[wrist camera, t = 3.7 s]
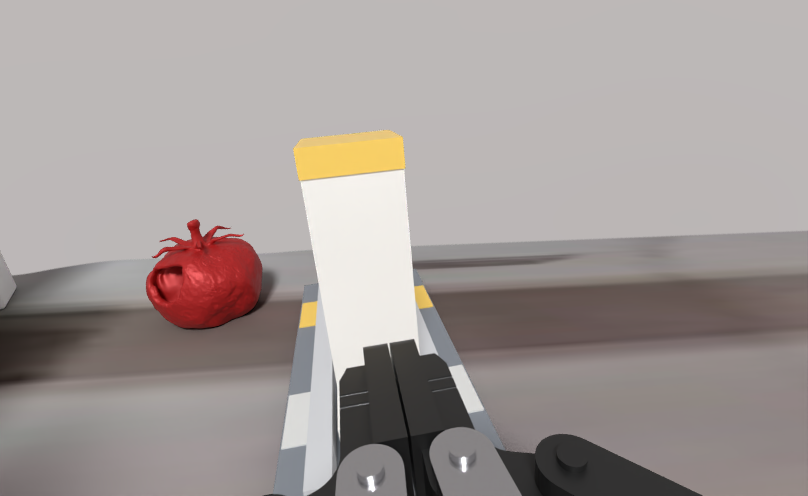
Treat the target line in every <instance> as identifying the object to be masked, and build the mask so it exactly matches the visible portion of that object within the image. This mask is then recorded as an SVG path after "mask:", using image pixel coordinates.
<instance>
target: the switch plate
mask: <svg viewBox="0 0 808 496" xmlns="http://www.w3.org/2000/svg"><path fill="white" fill-rule="evenodd" d="M413 280H414V292H415V303H416V315H417V327H418V338H419V350H420V356H421V355H427V354H432V353H435V354H437V355H438V356H439V357H440V358H441V359H443V360H444V361H445V362H446V363H447V365H448V367H449V370H450V372H451V374H452V378H453V379H454V381H455V384H456V387H457V388H458V391H459V393H460V395H461V398H462V400H463V402H464V405H465V407H466V409H467V412H468V414H469V416H470V419H471V421H472V423H473V426H474V428H475V430H477V431H479V432H481V433H483V434H484V435H485V436H487V437H488V438H489V440H490V441H491V442H492V444H493V445H494V447H496V448H498V449H501V450H505V448H504V446H503V444H502V442H501V440H500V438H499V436H498V434H497V432H496V430H495V428H494V426H493V424H492V422H491V420H490V418H489V416H488V414H487V412H486V410H485V408H484V406H483V404H482V402H481V400H480V398H479V396H478V394H477V392H476V390H475V387H474V385H473V383H472V381H471V379H470V377H469V375H468V373H467V371H466V369H465V367H464V365H463V363H462V361H461V359H460V357H459V355H458V353H457V351H456V349H455V347H454V345H453V343H452V341H451V339H450V337H449V335H448V333H447V331H446V329H445V327H444V325H443V323H442V321H441V319H440V317H439V315H438V313H437V311H436V309H435V307H434V305H433V303H432V301H431V299H430V297H429V295H428V293H427V291H426V289H425V287H424V285H423V283H422V281H421V278H420V276H419V274H418V272H417V270H416V269H413ZM505 451H506V450H505ZM339 461H340V439H339V433H338V406H337V383H336V378H335V372H334V366H333V361H332V355H331V350H330V344H329V338H328V333H327V327H326V321H325V316H324V310H323V305H322V299H321V293H320V288H319V283H318V284H311V285H305V287H304V293H303V300H302V306H301V313H300V320H299V326H298V333H297V339H296V346H295V352H294V359H293V366H292V372H291V379H290V385H289V392H288V398H287V405H286V412H285V418H284V425H283V431H282V438H281V444H280V451H279V457H278V464H277V471H276V477H275V484H274V490H273V494H280V495H285V496H307V495H309V494H311V493H313V492H315V491H316V490H318V489H319V488H321V487H322V486H323V485H325V484H326V483H327V482H328V481H329V480H330V478H331V477H332V476H333V474H334V473H335V471H336V469H337V467H338V465H339ZM413 488H414V486H413ZM414 496H416V495H415V490H414Z"/></svg>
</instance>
